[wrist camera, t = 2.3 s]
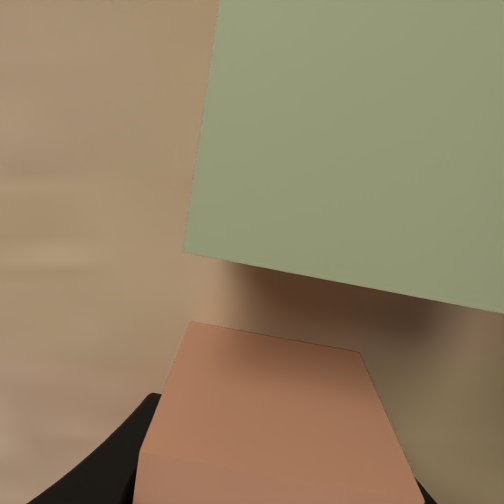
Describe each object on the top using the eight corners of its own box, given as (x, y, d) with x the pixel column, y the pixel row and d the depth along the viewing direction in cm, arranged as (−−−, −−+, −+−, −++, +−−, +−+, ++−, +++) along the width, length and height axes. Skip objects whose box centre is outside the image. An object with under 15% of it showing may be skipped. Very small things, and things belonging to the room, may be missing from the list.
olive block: (461, 34, 9) (665, -72, 5) (400, 236, 11) (509, 314, 6) (254, -9, 9) (244, -164, 5) (219, 200, 11) (182, 252, 6)
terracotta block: (358, 352, 12) (425, 501, 7) (319, 485, 13) (351, 687, 8) (190, 321, 12) (139, 451, 7) (168, 459, 13) (113, 649, 8)
